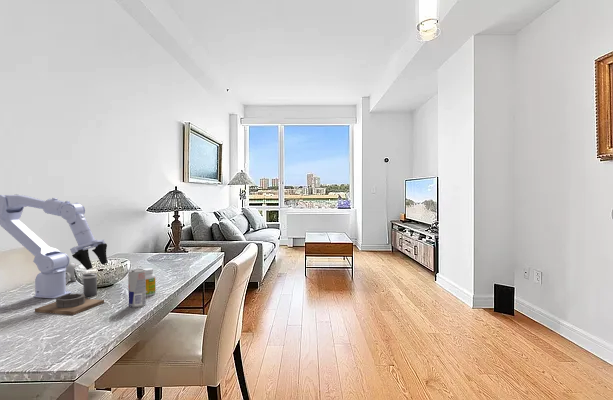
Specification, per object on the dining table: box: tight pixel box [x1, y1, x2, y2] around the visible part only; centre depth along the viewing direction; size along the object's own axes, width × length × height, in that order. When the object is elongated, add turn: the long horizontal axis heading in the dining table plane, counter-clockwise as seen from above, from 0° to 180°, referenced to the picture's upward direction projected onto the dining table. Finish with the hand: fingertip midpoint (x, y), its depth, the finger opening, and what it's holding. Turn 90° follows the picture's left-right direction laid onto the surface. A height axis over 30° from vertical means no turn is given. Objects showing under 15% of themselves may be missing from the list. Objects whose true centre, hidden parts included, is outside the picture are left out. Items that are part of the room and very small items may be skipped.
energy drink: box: [127, 268, 147, 309], centre depth 127 cm, size 5×5×12 cm
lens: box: [82, 272, 98, 298], centre depth 140 cm, size 4×4×8 cm
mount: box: [34, 293, 105, 316], centre depth 125 cm, size 15×13×4 cm
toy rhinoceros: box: [65, 261, 78, 285], centre depth 159 cm, size 7×12×8 cm, turn 12°
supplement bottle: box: [142, 267, 156, 297], centre depth 140 cm, size 5×5×10 cm
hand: (97, 266), depth 139 cm, fingers open, 7 cm apart
